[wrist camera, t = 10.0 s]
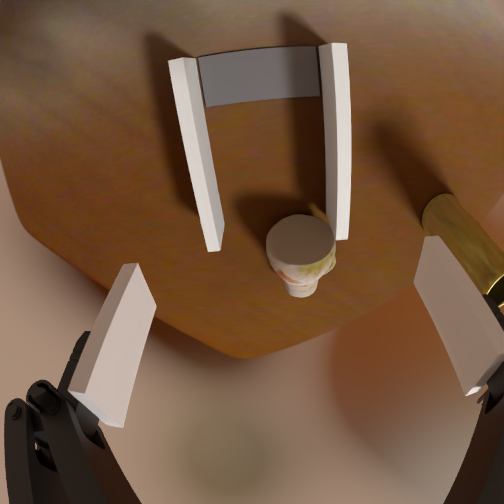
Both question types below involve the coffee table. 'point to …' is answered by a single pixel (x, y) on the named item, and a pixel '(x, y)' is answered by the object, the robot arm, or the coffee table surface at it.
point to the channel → (261, 88)
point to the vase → (467, 244)
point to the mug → (301, 252)
